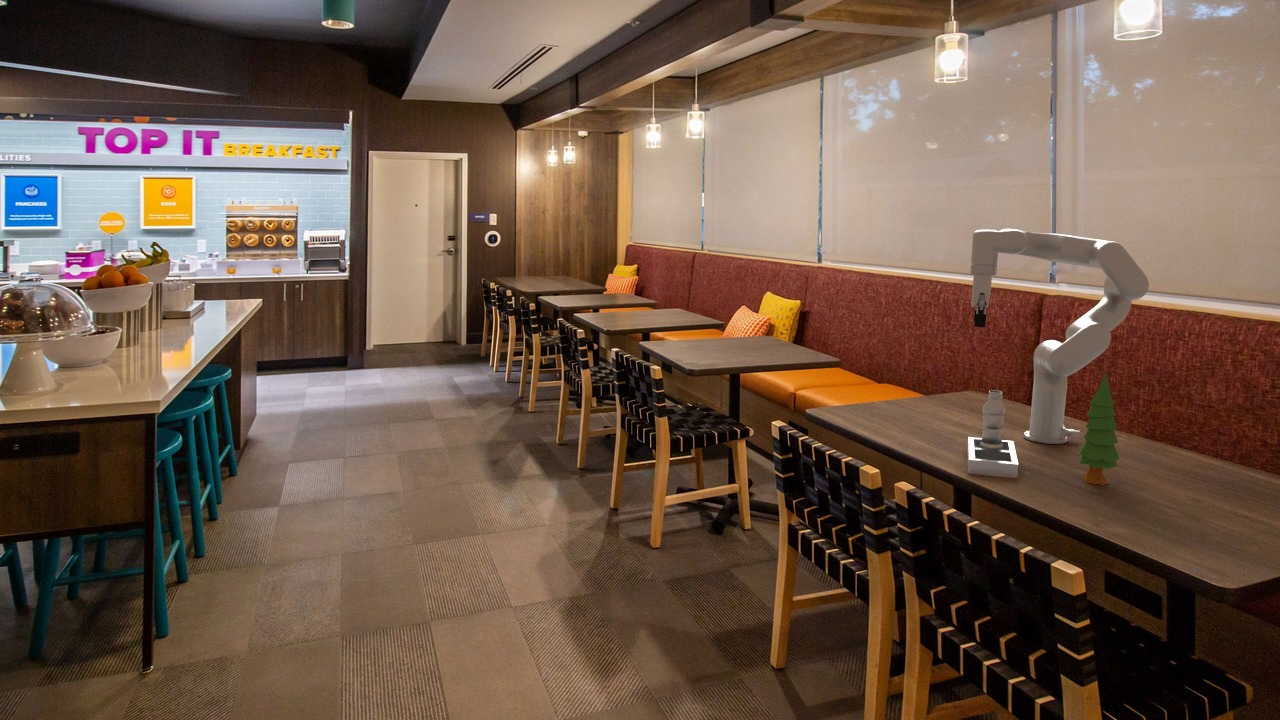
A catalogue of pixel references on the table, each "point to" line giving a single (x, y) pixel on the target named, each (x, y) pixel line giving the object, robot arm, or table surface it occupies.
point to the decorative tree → (1100, 436)
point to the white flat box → (992, 459)
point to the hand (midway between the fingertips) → (979, 324)
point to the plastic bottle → (993, 421)
